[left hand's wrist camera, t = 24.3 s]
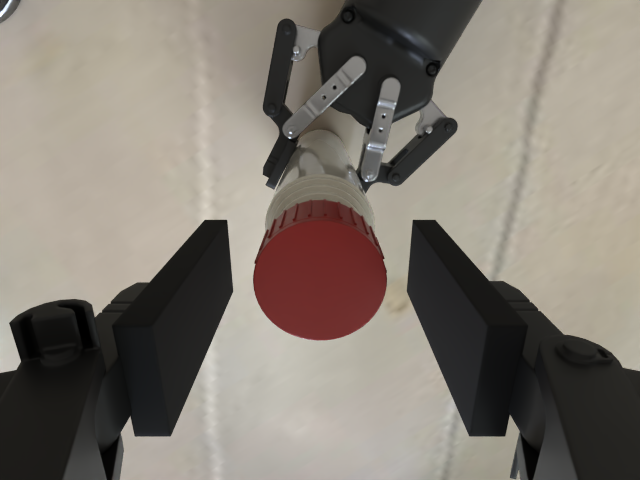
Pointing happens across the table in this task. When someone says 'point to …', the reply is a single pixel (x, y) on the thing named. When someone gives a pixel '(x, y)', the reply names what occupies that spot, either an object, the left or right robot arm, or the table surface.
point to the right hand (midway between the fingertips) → (302, 200)
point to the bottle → (320, 177)
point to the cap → (320, 271)
